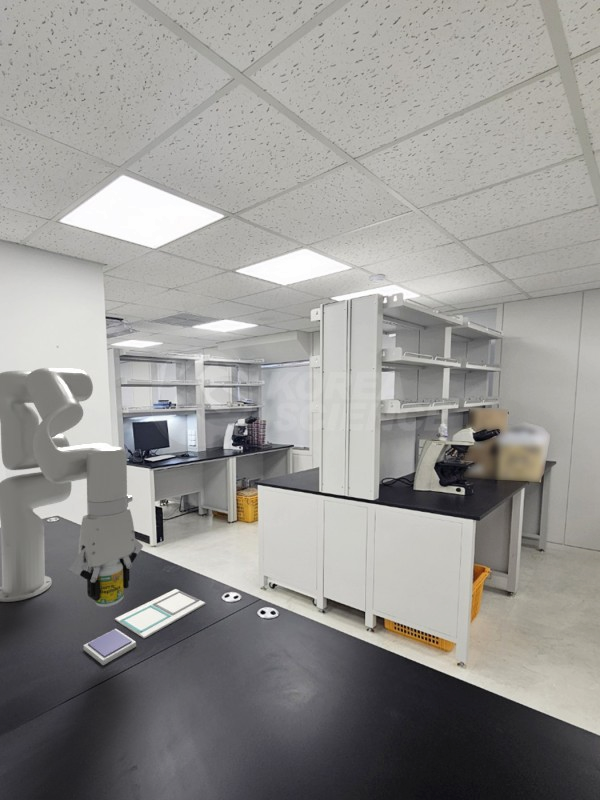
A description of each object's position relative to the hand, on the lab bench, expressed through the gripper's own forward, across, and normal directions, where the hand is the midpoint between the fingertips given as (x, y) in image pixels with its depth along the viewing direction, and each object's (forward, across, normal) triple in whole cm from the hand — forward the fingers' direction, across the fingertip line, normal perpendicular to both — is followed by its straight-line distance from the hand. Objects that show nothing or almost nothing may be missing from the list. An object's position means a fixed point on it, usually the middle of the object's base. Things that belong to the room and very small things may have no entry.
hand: (109, 591), depth 82 cm
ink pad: (+12, 0, 0) cm, 12 cm away
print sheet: (+12, -14, -3) cm, 19 cm away
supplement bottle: (+2, 0, 0) cm, 2 cm away
